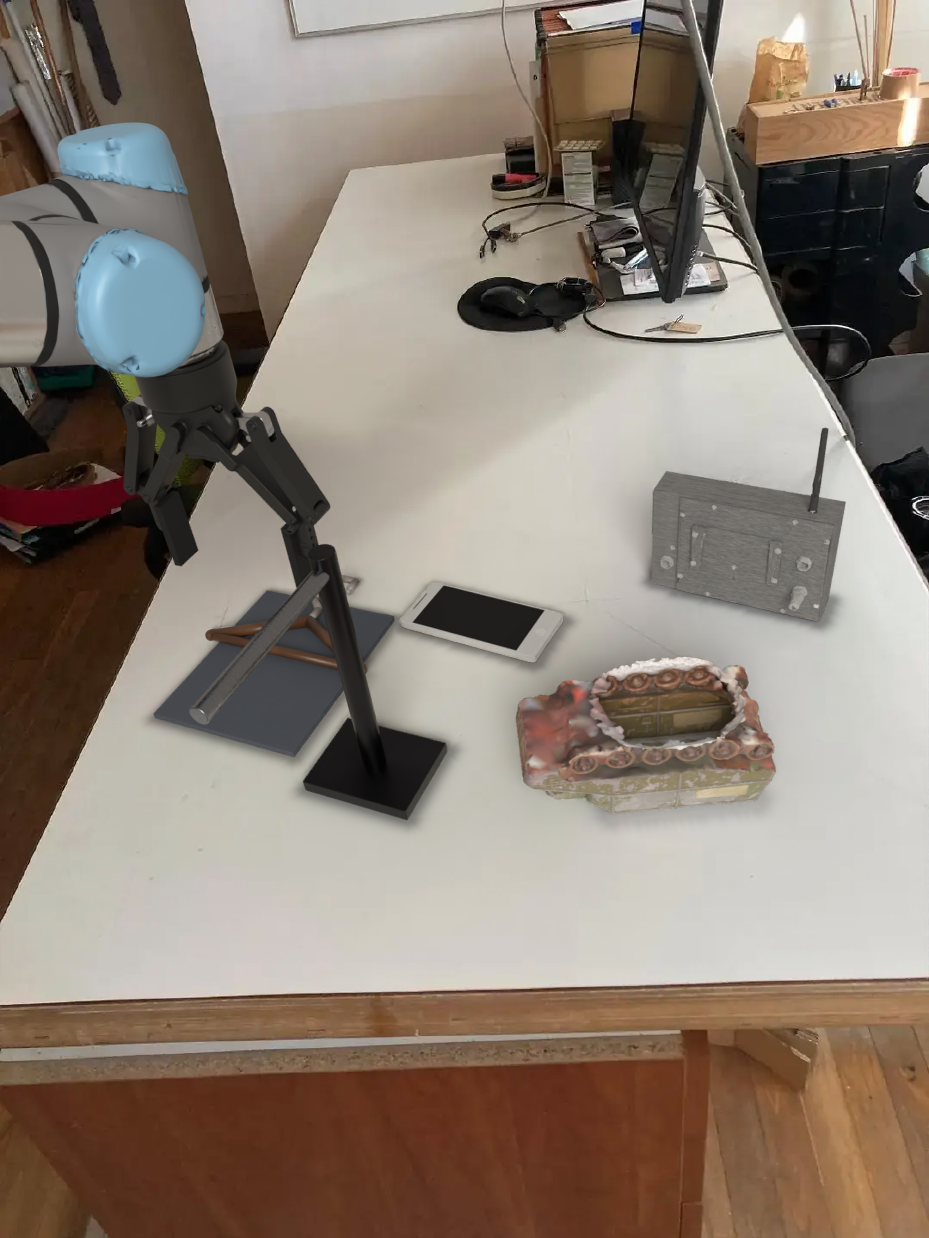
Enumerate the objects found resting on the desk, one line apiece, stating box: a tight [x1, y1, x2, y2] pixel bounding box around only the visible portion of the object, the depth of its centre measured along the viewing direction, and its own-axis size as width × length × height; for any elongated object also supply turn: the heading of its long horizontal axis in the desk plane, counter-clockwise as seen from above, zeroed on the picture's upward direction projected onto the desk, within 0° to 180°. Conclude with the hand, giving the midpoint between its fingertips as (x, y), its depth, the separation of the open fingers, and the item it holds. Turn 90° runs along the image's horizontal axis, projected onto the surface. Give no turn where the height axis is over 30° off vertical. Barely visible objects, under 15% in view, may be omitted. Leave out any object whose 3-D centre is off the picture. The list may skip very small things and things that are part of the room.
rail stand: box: [189, 543, 448, 821], centre depth 70 cm, size 20×10×24 cm, turn 156°
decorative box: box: [515, 656, 777, 815], centre depth 73 cm, size 13×20×10 cm, turn 86°
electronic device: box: [650, 427, 847, 622], centre depth 88 cm, size 17×7×20 cm, turn 61°
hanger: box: [204, 574, 368, 675], centre depth 97 cm, size 19×1×14 cm
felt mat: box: [153, 590, 396, 758], centre depth 93 cm, size 16×20×1 cm
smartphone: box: [399, 581, 564, 663], centre depth 95 cm, size 7×15×1 cm, turn 62°
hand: (246, 569), depth 85 cm, fingers open, 13 cm apart
